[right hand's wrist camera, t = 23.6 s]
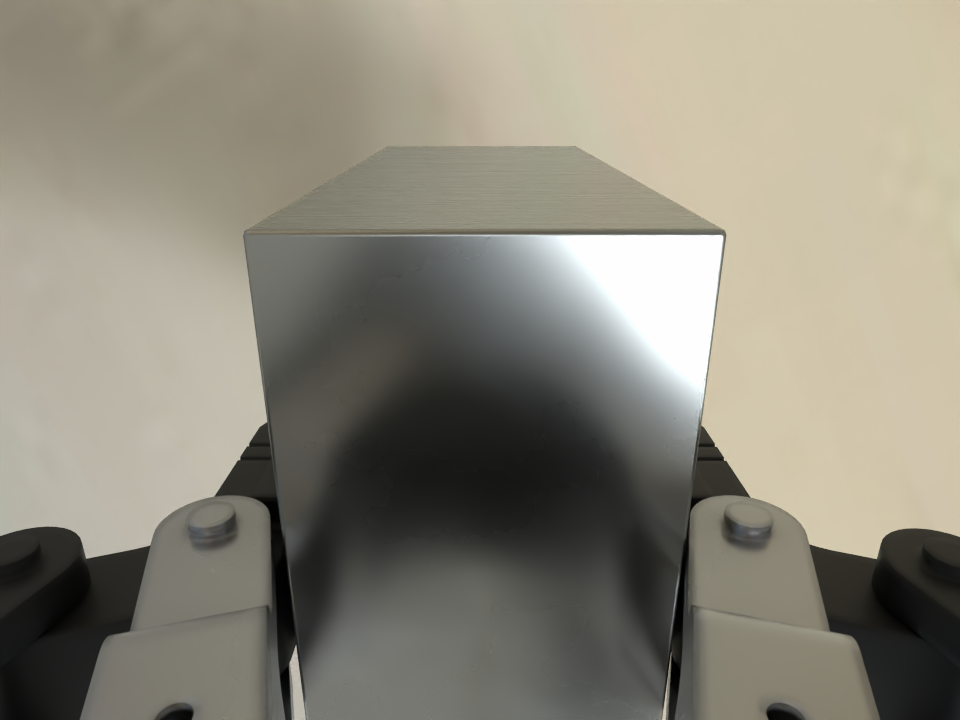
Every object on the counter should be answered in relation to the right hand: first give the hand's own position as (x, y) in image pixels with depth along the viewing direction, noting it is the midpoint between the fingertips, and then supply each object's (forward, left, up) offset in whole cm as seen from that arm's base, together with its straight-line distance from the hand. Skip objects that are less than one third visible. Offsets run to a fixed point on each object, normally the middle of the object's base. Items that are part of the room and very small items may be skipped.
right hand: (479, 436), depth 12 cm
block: (0, 0, -5) cm, 5 cm away
